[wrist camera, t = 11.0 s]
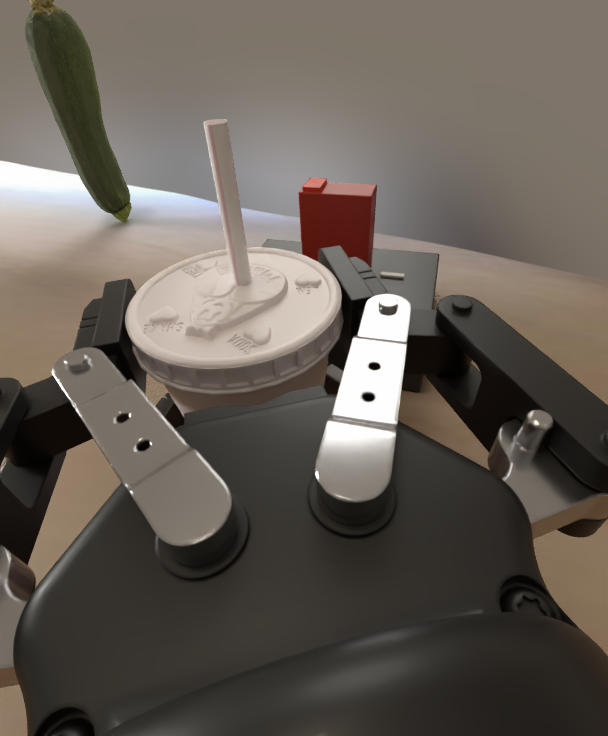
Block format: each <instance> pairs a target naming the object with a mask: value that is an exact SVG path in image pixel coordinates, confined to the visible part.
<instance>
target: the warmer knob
mask: <svg viewBox="0 0 608 736" xmlns="http://www.w3.org/2000/svg"><path fill="white" fill-rule="evenodd" d="M376 191H377V185H374V184H353V183H332V182H327V179H326V178H309V179H308V181H307V182H306V183H305V184H304V186H303V187H302V189H301V190H300V192H299V208H300V225H301V242H302V255H305V256H307V257H309V258H311V259H313V260H315V261H317V262H318V251H319V249H320V248H325V247H331V246H338V245H340V246H341V247H342V249H343V250H344V252H345V253H346V255H347V256H348V257H349V258H350V257H358V258H359V259H361V260H363V261H365V262H366V263H367V264H368V265H369V267H370V268H371V266H372V253H373V237H374V221H375V207H376Z"/></svg>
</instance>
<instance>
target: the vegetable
mask: <svg viewBox="0 0 608 736" xmlns="http://www.w3.org/2000/svg"><path fill="white" fill-rule="evenodd" d="M53 1H54V0H28V2H29V3H30V4H31V6H32V7H33V10H32V11H31V12H30V13H29V15H28V17H27V20H26V27H25V33H26V41H27V45H28V48H29V52H30V55H31V59H32V61H33V65H34V68H35V70H36V73H37V76H38V79H39V81H40V84H41V86H42V89H43V91H44V93H45V96H46V98H47V100H48V102H49V104H50V106H51V109H52V111H53V114H54V117H55V120H56V122H57V124H58V126H59V129H60V131H61V133H62V135H63V138H64V140H65V142H66V145H67V147H68V149H69V152H70V154H71V156H72V159H73V162H74V164H75V166H76V169H77V171H78V173H79V176H80V178H81V180H82V182H83V183H84V185H85V187H86V188H87V190H88V192H89V193H90V195H91V196H92V198H93V199H94V201H95V202H96V204H97V205H98V206H99V207H100V208H101V209H102V210H104V211H105V212H108V213H111V214H113V215H114V217H116V218H117V219H118V220H120V221H122V222H125V223H126V218H128V216H129V213H130V210H131V208H132V207H131V203H130V202H129V201H130V194H129V189H128V187H127V185H126V183H125V181H124V178H123V176H122V173H121V170H120V168H119V165H118V163H117V160H116V158H115V156H114V153H113V151H112V149H111V147H110V144H109V141H108V138H107V135H106V131H105V128H104V125H103V121H102V115H101V105H100V96H99V92H98V87H97V82H96V77H95V71H94V67H93V62H92V57H91V53H90V50H89V47H88V44H87V42H86V40H85V38H84V36H83V33H82V31H81V29H80V28H79V26H78V25H77V23H76V22H75V21H74V20H73V19H72V17H71V16H70V15H69V14H68V13H66V12H65V11H63V10H62V9H60V8H58V7H56V6H54V5H53V4H52V3H53Z"/></svg>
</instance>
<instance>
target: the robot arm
mask: <svg viewBox="0 0 608 736" xmlns="http://www.w3.org/2000/svg"><path fill="white" fill-rule="evenodd" d="M318 262H319V263H320V264H322V265H323V266H325V267H326V268H327V269H328V270H329V271H330V272H331V273H332V274H333V275H334V276H335V278H336V279H337V281H338V283H339V285H340V288H341V294H342V300H341V309H342V315H343V320H344V322H343V326H342V330H341V333H340V337H339V338H340V340H341V342H342V344H343V346H344V348H345V350H346V352H347V354H348V357H347V361H346V365H345V368H344V372H343V376H342V379H341V383H340V387H339V390H338V394H327V393H326V390H325V388H324V385H318V386H313V387H309V388H304V389H299V390H294V391H290V392H287V393H285V394H283V395H280V396H278V397H275V398H273V399H271V400H268V401H266V402H264V403H261V404H259V405H253V406H217V407H212V408H208V409H203V410H198V411H193V412H188V413H184V425H181V426H179V427H177V428H174V427H173V426H172V425H171V424H170V423H169V422H168V420H167V419H166V418H165V417H164V416H163V415H162V413H161V412H160V411H159V410H158V409H157V408H156V406H155V405H154V404H153V403H152V402H151V401H150V399H149V398H148V397H147V396H146V395H145V390H146V374H147V372H146V371H144V370H143V369H142V368H141V367H140V365H139V363H138V361H137V359H136V357H135V355H134V353H133V351H132V341H131V339H130V337H129V335H128V332H127V329H126V325H125V315H126V311H127V308H128V305H129V303H130V301H131V300H132V298H133V297H134V295H135V294H136V291H135V288H134V286H133V283H132V281H131V280H130V279H123V280H117V281H111V282H106V283H105V287H104V292H103V296H102V298H99V299H93V300H92V301H91V302H90V304H89V305H88V306H87V307H86V308H85V309H84V312H83V315H82V321H81V323H80V326H79V327H80V329H79V330H78V334H77V337H76V341H75V344H74V348H73V351H71V352H69V353H67V354H65V355H64V356H62V357H61V358H60V359H59V360H58V361H57V362H56V363H55V364H54V366H53V368H52V374H53V376H51V377H49V378H47V379H45V380H42V381H40V382H37V383H34V384H32V385H29V386H27V387H24V388H23V387H22V385H21V384H20V383H19V381H17V380H16V379H13V378H0V466H1V463H2V461H3V459H4V457H6V458H7V459H6V461H5V463H4V465H3V467H2V469H1V471H0V688H2V687H7V686H13V685H20V688H21V690H22V693H23V698H24V702H25V707H26V715H27V730H28V736H608V656H607V655H606V654H605V652H604V651H603V650H602V649H601V648H600V647H599V646H598V645H597V644H596V643H595V642H594V641H593V640H592V639H591V638H590V637H589V636H588V635H586V634H585V633H584V632H583V631H582V630H581V629H580V628H579V627H578V626H577V625H576V624H575V623H574V622H573V621H572V620H571V619H570V618H569V617H568V616H567V615H566V614H565V613H564V612H563V610H562V609H561V608H560V607H559V606H558V605H557V603H556V602H555V601H554V599H553V598H552V596H551V595H550V593H549V591H548V590H547V588H546V586H545V583H544V581H543V578H542V576H541V573H540V571H539V567H538V564H537V561H536V556H535V551H534V546H533V539H535V538H537V537H539V536H542V535H544V534H547V533H549V532H551V531H554V530H556V529H557V530H558V531H560V532H562V533H564V534H567V535H569V536H573V537H587V536H590V535H592V534H594V533H595V532H596V531H597V530H598V529H599V527H600V526H601V525H602V524H603V523H604V522H605V521H606V520H607V519H608V405H607V404H605V403H604V402H603V401H602V400H600V399H599V398H598V397H597V396H595V395H594V394H593V393H592V392H591V391H589V390H588V389H587V388H586V387H584V386H583V385H582V384H581V383H580V382H578V381H577V380H576V379H575V378H573V377H572V376H571V375H570V374H568V373H567V372H566V371H565V370H564V369H562V368H561V367H560V366H559V365H557V364H556V363H555V362H554V361H553V360H551V359H550V358H549V357H548V356H546V355H545V354H544V353H543V352H541V351H540V350H539V349H538V348H537V347H535V346H534V345H533V344H532V343H530V342H529V341H528V340H527V339H526V338H524V337H523V336H522V335H521V334H519V333H518V332H517V331H516V330H514V329H513V328H512V327H511V326H510V325H508V324H507V323H506V322H505V321H503V320H502V319H501V318H500V317H498V316H497V315H496V314H495V313H494V312H492V311H491V310H490V309H489V308H487V307H486V306H485V305H484V304H483V303H481V302H480V301H478V300H477V299H475V298H472V297H469V296H464V295H451V296H447V297H444V298H443V299H441V300H440V301H439V303H438V307H437V310H421V309H412V308H411V305H410V303H409V302H408V301H407V300H406V299H405V298H403V297H401V296H398V295H394V294H389V292H388V291H387V290H386V288H385V287H384V286H383V284H382V283H381V282H380V280H379V279H378V278H377V277H376V275H375V273H374V272H373V271H372V269H371V268H370V267H369V265H368V264H367V263H366V262H365V261H363V260H361V259H359V258H358V257H350V258H349V257H348V256H347V255H346V253H345V252H344V250H343V249H342V247H341V246H340V245H338V246H331V247H325V248H320V249H319V251H318ZM472 360H473V361H474V362H475V363H476V364H477V366H478V367H479V369H480V372H481V373H480V372H479V371H478V370H477V369H476V368H475V367H474V366H473V365H472V364H471V361H472ZM403 374H423V375H426V377H427V379H428V380H429V381H430V382H431V384H432V385H433V386H434V387H435V388H436V389H437V391H438V392H439V393H440V394H441V395H442V397H443V398H444V399H445V400H446V401H447V403H448V404H449V405H450V406H451V407H452V409H453V410H454V411H455V412H456V413H457V415H458V416H459V417H460V418H461V419H462V421H463V422H464V423H465V424H466V425H467V427H468V428H469V429H470V430H471V431H472V432H473V434H474V435H475V436H476V437H477V438H478V440H479V441H480V442H481V443H482V444H483V446H484V447H485V448H486V449H487V450H488V452H489V455H488V466H489V468H490V470H491V471H490V470H488V469H486V468H484V467H483V466H481V465H479V464H477V463H475V462H473V461H472V460H470V459H468V458H466V457H464V456H462V455H460V454H459V453H457V452H455V451H453V450H451V449H449V448H448V447H446V446H444V445H442V444H440V443H438V442H436V441H435V440H433V439H431V438H429V437H427V436H425V435H424V434H422V433H420V432H418V431H416V430H414V429H413V428H411V427H409V426H407V425H405V424H403V423H402V422H400V421H398V413H399V405H400V397H401V389H402V381H403ZM90 439H94V440H95V442H96V443H97V445H98V447H99V448H100V450H101V451H102V453H103V454H104V456H105V457H106V459H107V460H108V462H109V464H110V465H111V467H112V468H113V470H114V471H115V473H116V474H117V476H118V478H119V479H120V481H121V482H122V483H121V484H120V485H119V486H118V488H117V489H116V490H115V491H114V493H113V494H112V495H111V496H110V497H109V499H108V500H107V501H106V502H105V504H104V505H103V506H102V507H101V508H100V510H99V511H98V512H97V513H96V515H95V516H94V517H93V518H92V519H91V521H90V522H89V523H88V524H87V526H86V527H85V528H84V529H83V530H82V532H81V533H80V534H79V535H78V537H77V538H76V539H75V540H74V541H73V543H72V544H71V545H70V546H69V548H68V549H67V550H66V551H65V552H64V554H63V555H62V556H61V557H60V558H59V560H58V561H57V562H56V563H55V565H54V566H53V567H52V568H51V569H50V571H49V572H48V573H47V574H46V576H45V577H44V578H43V579H42V580H41V582H40V583H39V584H38V586H37V587H36V588H35V585H36V578H35V574H34V572H33V571H32V569H31V568H30V567H28V566H27V565H28V562H29V559H30V556H31V553H32V551H33V548H34V545H35V542H36V539H37V536H38V533H39V531H40V528H41V525H42V522H43V519H44V516H45V513H46V510H47V508H48V505H49V502H50V499H51V496H52V493H53V490H54V488H55V485H56V482H57V479H58V476H59V473H60V470H61V467H62V465H63V462H64V459H65V456H66V450H69V449H71V448H73V447H75V446H77V445H79V444H82V443H84V442H86V441H88V440H90Z"/></svg>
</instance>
